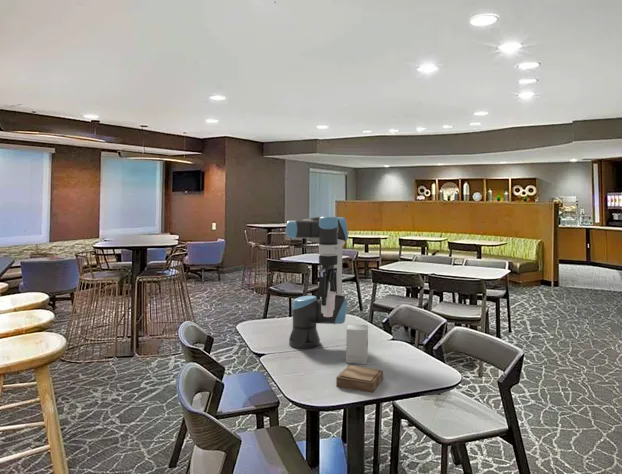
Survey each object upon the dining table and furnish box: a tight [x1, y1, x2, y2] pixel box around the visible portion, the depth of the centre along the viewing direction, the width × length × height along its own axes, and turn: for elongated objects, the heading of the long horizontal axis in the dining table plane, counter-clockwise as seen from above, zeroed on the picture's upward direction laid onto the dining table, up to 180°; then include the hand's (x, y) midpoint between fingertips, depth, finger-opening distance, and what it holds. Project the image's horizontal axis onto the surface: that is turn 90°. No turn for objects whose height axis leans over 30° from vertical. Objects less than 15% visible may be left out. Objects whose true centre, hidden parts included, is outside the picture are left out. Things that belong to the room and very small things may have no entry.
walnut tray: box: [335, 364, 384, 394], centre depth 167 cm, size 14×14×4 cm
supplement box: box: [345, 323, 369, 365], centre depth 191 cm, size 9×9×15 cm
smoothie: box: [323, 282, 336, 317], centre depth 177 cm, size 6×6×14 cm
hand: (328, 311), depth 177 cm, fingers closed on smoothie, 6 cm apart
